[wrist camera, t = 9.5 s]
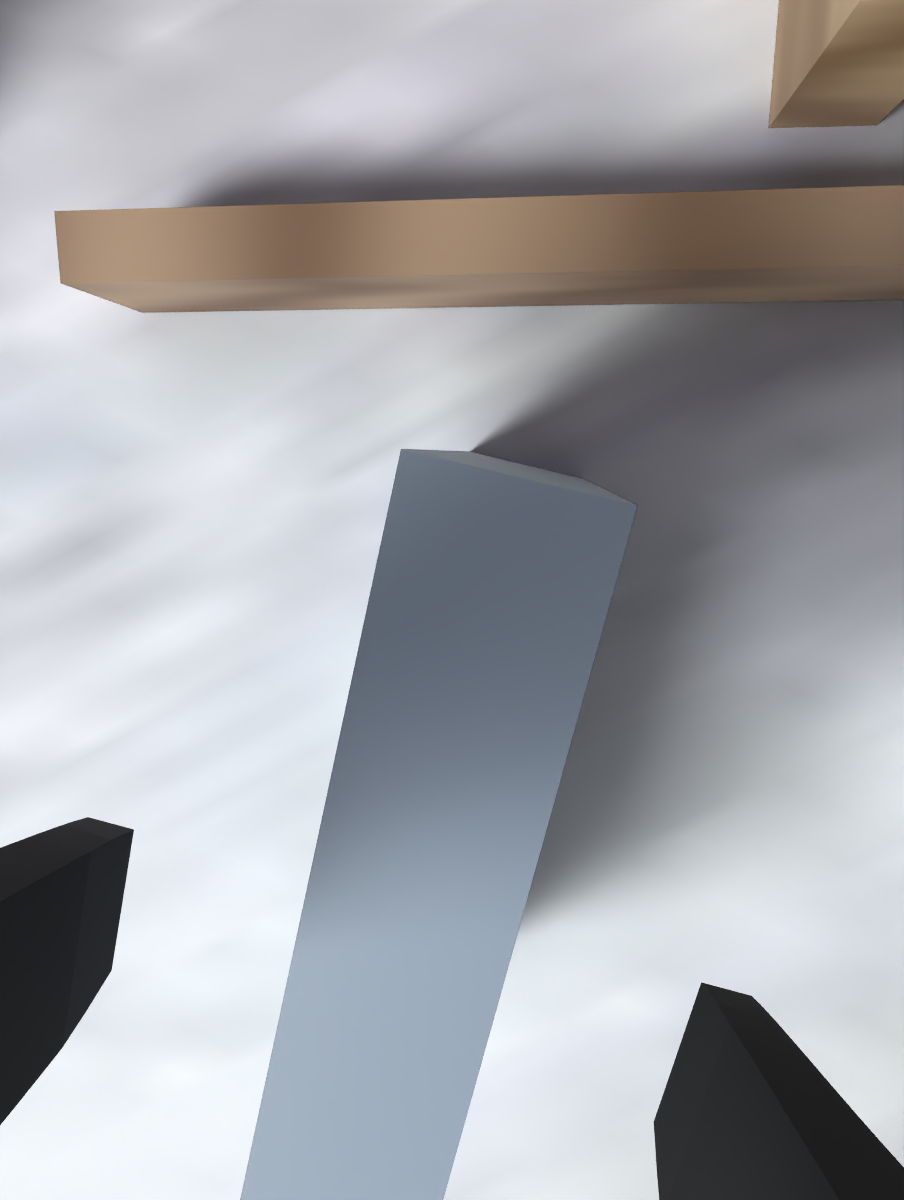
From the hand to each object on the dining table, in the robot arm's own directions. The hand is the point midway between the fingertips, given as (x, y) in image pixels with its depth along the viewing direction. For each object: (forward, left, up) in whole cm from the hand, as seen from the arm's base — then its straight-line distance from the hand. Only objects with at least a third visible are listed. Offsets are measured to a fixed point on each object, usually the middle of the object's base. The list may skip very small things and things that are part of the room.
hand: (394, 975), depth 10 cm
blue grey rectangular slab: (0, 0, -9) cm, 9 cm away
